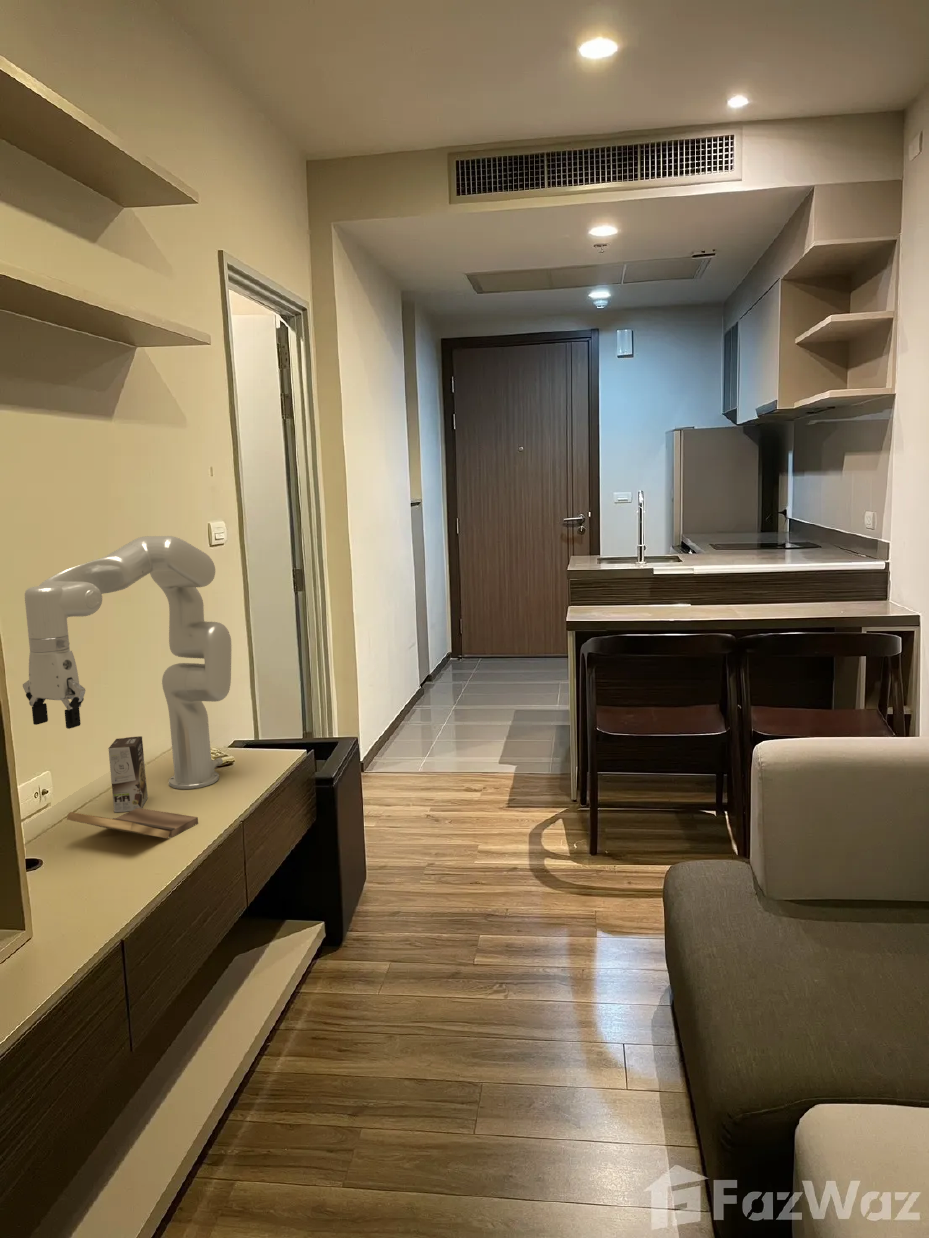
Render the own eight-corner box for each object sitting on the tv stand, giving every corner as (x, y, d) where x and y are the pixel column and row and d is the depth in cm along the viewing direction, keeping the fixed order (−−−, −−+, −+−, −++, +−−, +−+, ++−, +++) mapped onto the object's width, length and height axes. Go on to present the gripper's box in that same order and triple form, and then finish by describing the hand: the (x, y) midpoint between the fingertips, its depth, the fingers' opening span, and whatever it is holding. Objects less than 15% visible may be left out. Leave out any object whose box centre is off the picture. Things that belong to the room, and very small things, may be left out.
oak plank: (106, 828, 199) (108, 820, 199) (168, 838, 192) (170, 830, 192) (66, 819, 189) (69, 811, 189) (130, 830, 181) (132, 822, 182)
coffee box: (141, 810, 210) (135, 745, 207) (113, 813, 209) (107, 748, 206) (148, 797, 219) (143, 735, 216) (121, 800, 218) (115, 737, 215)
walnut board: (138, 813, 208) (137, 806, 207) (198, 823, 200) (197, 816, 200) (110, 826, 200) (110, 819, 200) (172, 837, 193) (171, 829, 192)
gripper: (94, 644, 182) (101, 724, 184) (36, 640, 189) (43, 717, 191) (63, 650, 175) (71, 733, 177) (5, 646, 182) (13, 726, 185)
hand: (57, 725), depth 184 cm, fingers open, 9 cm apart
